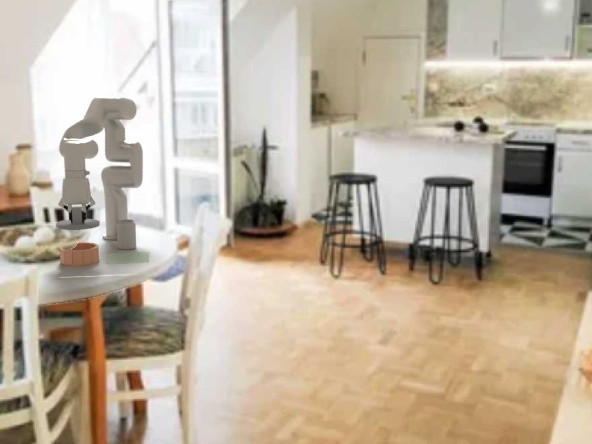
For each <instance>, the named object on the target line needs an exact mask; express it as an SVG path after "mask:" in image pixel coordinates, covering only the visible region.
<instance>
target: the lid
mask: <svg viewBox="0 0 592 444" xmlns="http://www.w3.org/2000/svg"><path fill="white" fill-rule="evenodd" d="M82 210H83V209H82V206H72V222H73V223H71V221H69V219H65V220H61V221H57V222H56V223H55V227H56V228H57V229H59V230H65V231H81V230H91V229H95V228H97V227H100V226H101V225H100V224H101V222H100V220H97V219H93V218H86V220H85V222H84V223H83V222H82Z"/></svg>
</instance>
